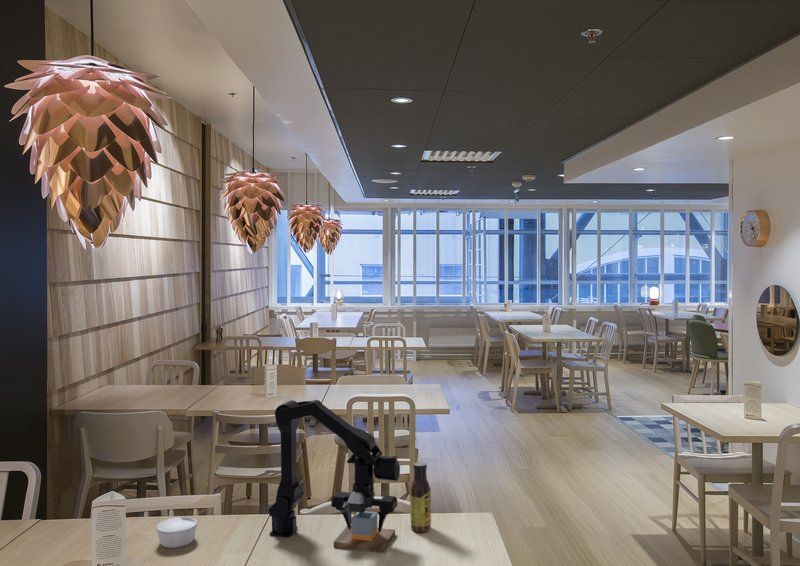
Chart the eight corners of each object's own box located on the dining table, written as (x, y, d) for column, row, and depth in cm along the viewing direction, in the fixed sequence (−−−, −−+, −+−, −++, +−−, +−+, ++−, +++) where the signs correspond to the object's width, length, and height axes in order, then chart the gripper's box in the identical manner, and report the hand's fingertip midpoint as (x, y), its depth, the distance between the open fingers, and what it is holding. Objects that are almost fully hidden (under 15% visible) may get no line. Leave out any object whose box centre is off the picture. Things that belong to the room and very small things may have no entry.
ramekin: (205, 537, 189) (205, 519, 189) (177, 552, 179) (177, 534, 179) (177, 531, 194) (176, 514, 194) (148, 546, 184) (148, 528, 184)
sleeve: (351, 538, 183) (351, 518, 183) (358, 530, 189) (358, 510, 189) (371, 540, 181) (371, 520, 181) (377, 532, 187) (377, 512, 187)
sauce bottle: (429, 533, 189) (428, 468, 189) (408, 532, 190) (407, 467, 190) (432, 524, 196) (431, 461, 195) (412, 523, 197) (411, 460, 196)
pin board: (333, 547, 181) (333, 528, 181) (347, 529, 193) (347, 512, 193) (383, 552, 177) (383, 533, 177) (395, 534, 189) (394, 517, 189)
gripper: (323, 484, 179) (324, 539, 180) (386, 490, 174) (387, 545, 175) (337, 472, 190) (338, 523, 190) (397, 476, 185) (398, 529, 186)
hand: (364, 530), depth 185 cm, fingers open, 9 cm apart
